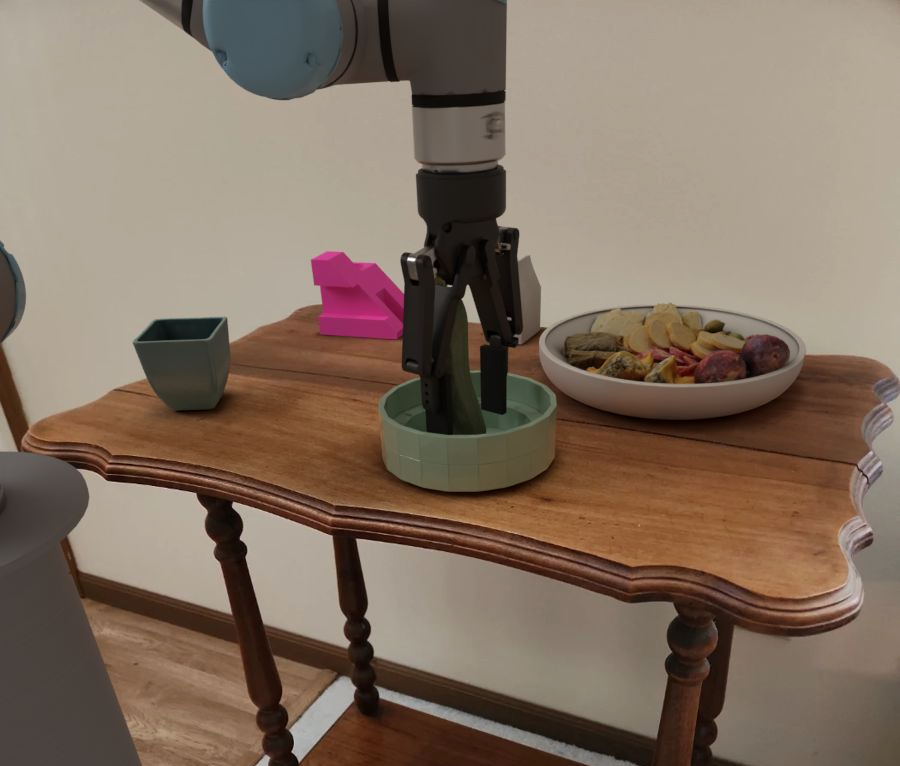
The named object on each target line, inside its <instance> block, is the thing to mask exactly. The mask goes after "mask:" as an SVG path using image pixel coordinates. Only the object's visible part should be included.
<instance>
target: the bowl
mask: <svg viewBox="0 0 900 766" xmlns="http://www.w3.org/2000/svg"><path fill="white" fill-rule="evenodd" d="M806 354H807V347H806V344H805V342H804V340H803V339H802V338H801V337H800V336H799V335H798V334H797V333H796V332H794V331H793V330H791V329H790V328H788V327H786V326H784V325H782V324H780V323H778V322H775V321H772V320H770V319H767V318H764V317H760V316H758V315H753V314H749V313H745V312H741V311H735V310H732V309H731V310H730V309H723V308H717V307H710V306H709V307H708V306H699V305H688V304H687V305H686V304H675V303H672V302H667V303H657V304H633V305H621V306H612V307H605V308H598V309H594V310H587V311H584V312H581V313H580V312H579V313H578V314H574V315H570V316H567V317H565V318H562V319H560V320H558V321H556V322H555V323H553V324H551V325H549V326H548V327H547V328H546V329H545V330H544V331H543V332H542V333H541V334H540V336H539V340H538V356H539V361H540V364H541V367H542V370H543V372H544V374H545V375H546V377H547V378H548V380H549V381H550V382H551V383H552V385H554V386H555V387H556V388H557V389H558V390H559V391H561V392H562V393H564V394H565V395H566V396H567V397H570V398H571V399H573V400H575V401H577V402H578V403H579V402H580V403H582V404H584V405H586V406H589V407H592V408H594V409H598V410H601V411H604V412H609V413H612V414H617V415H623V416H627V417H633V418H641V419H650V420H664V421H665V420H666V421H669V420H670V421H685V420H686V421H687V420H689V421H690V420H706V419H713V418H720V417H727V416H732V415H737V414H740V413H744V412H747V411H751V410H753V409H756V408H759V407H761V406H764V405H765V404H768V403H769V402H771V401H773V400H775V399H776V398H778V397H779V396H781V395H782V394H783V393H785V391H787V390H788V389H789V388H790V387H791V386H792V385H793V383H794V382H795V381H796V379H797V378H798V377H799V375H800V373H801V370H802V369H803V366H804V362H805V358H806Z"/></svg>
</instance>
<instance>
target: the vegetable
mask: <svg viewBox="0 0 900 766" xmlns="http://www.w3.org/2000/svg"><path fill="white" fill-rule="evenodd" d="M434 278H435V284H436V285H441V286H447V287H448V285H447V284H446V283H445V280H444V281H443V280H442V279H441V278H440V277H438V275H437V274H436V275H434ZM469 355H470V352H469V317H468V312H467V308H466V306H465V303H464V300H463V298H462V299H461V300H459V303H458V308H457V312H456V317H455V322H454V327H453V332H452V336H451V341H450V346H449V351H448V356H447V361H446V365H445V370H444V373H447V374H451V388H452V414H453V434H454V435H479V434H486V426H485V422H484V419H483V416H482V412H481V409H480V405H479V402H478V399H477V396H476V393H475V390H474V387H473V384H472V379H471V374H470V371H471V369H470V360H469V359H470V358H469V357H470V356H469ZM431 362H434V360H433V358H432V360H431Z"/></svg>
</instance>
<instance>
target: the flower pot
mask: <svg viewBox="0 0 900 766" xmlns="http://www.w3.org/2000/svg"><path fill="white" fill-rule="evenodd" d="M228 322H229V321H228V317H227V316H205V317H173V318H171V317H169V318H167V317H166V318H155V319H153V320H152V321H151V322H149V324H148V325H147V326H146V327H145V328H144V329H143V330H142V331H141V333H139V335H138V336H137V337H135V338H134V339H133V340H132V345H133V348H134V350H135V353H136V355H137V358H138V361H139V362H140V363H139V364H140V366H141V367H142V368H141V369H142V370H143V373H144V375H145V378H146V381H147V382H148V384H149V385H150V387H151V389H152V390H153V392H154V393H155V394H156V396H157V397H158V398H159V400H160V401H161V402H163V404H165V405H166V406H167V407H168V408H169V409H170V410H171V411H194V410H195V411H199V410H201V411H202V410H213V409H215V408H216V407H217V405H218V403H219V401H220V400H221V398H222V396H223V395H224V392H225V389H226V386H227V382H228V378H229V375H230V369H231V347H230V334H229V323H228Z"/></svg>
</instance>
